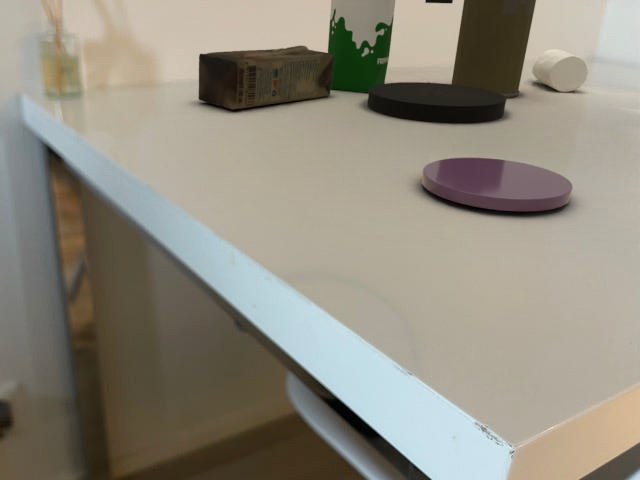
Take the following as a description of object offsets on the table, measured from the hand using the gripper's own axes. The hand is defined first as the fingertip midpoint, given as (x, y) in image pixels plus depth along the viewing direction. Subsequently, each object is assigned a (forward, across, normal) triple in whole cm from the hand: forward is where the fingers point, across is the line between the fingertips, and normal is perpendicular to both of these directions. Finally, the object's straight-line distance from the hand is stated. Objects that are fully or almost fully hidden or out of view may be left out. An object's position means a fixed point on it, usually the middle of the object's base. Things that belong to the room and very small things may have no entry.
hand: (438, 2), depth 71 cm
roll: (+14, -44, +15) cm, 49 cm away
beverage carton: (+14, -10, -23) cm, 28 cm away
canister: (+14, -32, +5) cm, 35 cm away
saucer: (+14, +21, +8) cm, 27 cm away
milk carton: (+14, -26, -14) cm, 32 cm away
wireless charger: (+14, -14, 0) cm, 20 cm away
